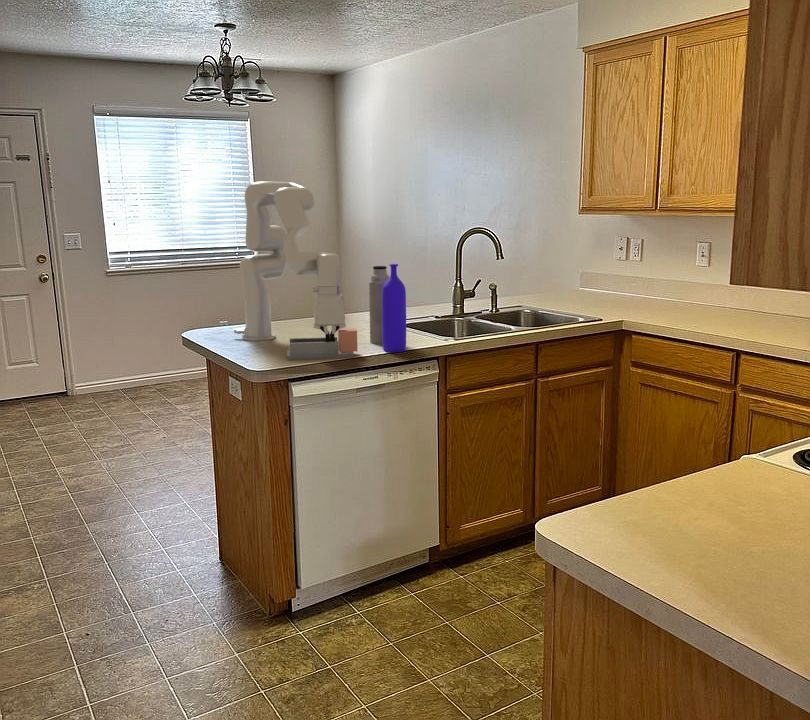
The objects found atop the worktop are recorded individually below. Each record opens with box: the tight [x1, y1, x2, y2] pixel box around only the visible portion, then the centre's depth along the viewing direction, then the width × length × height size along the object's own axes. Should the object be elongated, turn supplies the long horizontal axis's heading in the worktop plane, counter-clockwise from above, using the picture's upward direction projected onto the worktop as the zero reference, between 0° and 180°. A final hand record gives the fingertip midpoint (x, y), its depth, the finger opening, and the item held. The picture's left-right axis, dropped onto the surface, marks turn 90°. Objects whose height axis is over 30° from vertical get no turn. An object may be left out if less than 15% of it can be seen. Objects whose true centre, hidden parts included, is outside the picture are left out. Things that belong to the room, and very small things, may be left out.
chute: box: [286, 336, 355, 361], centre depth 251 cm, size 22×10×6 cm, turn 98°
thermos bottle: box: [368, 265, 390, 345], centre depth 272 cm, size 8×8×28 cm
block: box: [337, 327, 358, 353], centre depth 252 cm, size 6×6×7 cm
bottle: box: [382, 263, 407, 353], centre depth 257 cm, size 8×8×30 cm
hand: (330, 345), depth 251 cm, fingers closed
